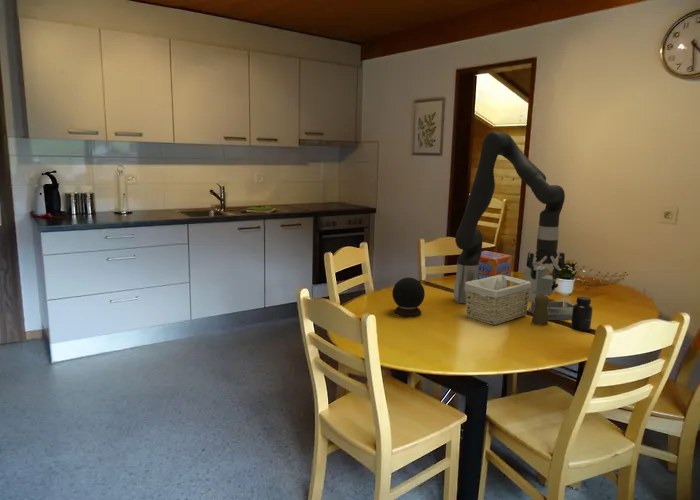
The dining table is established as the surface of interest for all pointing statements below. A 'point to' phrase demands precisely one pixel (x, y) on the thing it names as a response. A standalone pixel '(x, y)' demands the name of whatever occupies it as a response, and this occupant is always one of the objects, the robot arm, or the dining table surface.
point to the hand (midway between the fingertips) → (544, 278)
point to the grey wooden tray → (556, 310)
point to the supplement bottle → (582, 314)
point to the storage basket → (497, 299)
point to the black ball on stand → (408, 297)
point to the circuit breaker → (540, 282)
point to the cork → (540, 310)
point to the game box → (494, 265)
